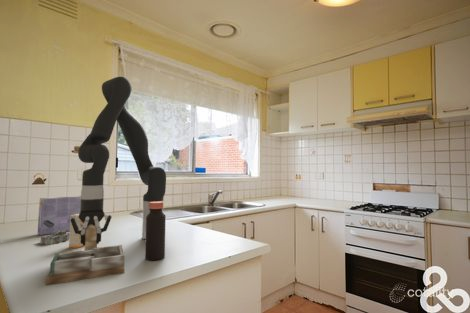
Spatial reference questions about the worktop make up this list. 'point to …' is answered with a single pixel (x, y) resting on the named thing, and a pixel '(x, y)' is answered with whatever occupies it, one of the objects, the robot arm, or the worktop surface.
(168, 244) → the worktop surface
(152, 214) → the bottle
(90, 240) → the keyhole peg
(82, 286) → the worktop surface
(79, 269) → the brown shallow boxy piece
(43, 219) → the cake pan box
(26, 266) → the worktop surface
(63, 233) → the egg carton
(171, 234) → the worktop surface
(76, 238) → the supplement box
